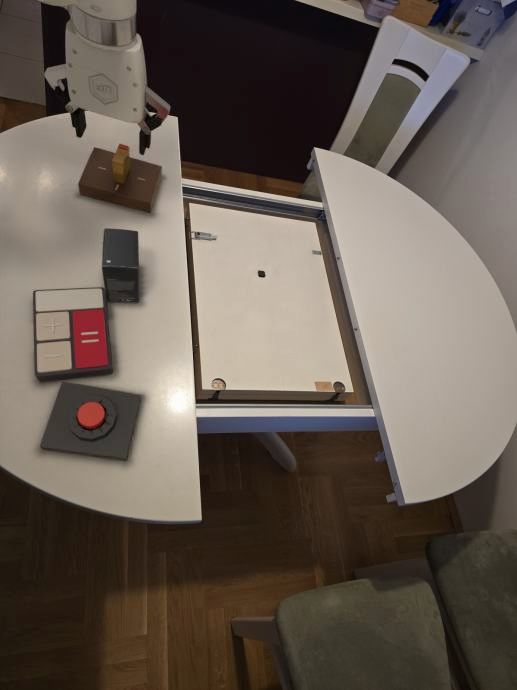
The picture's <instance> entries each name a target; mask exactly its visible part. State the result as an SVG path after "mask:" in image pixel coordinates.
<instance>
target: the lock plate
mask: <svg viewBox="0 0 517 690" xmlns="http://www.w3.org/2000/svg"><path fill="white" fill-rule="evenodd" d="M114 155H115V152H113V151H111V150H108V149H107V150H106V149H103V148H100V147H96V146H94V147H93V148H92V151H91V153H90V155H89V157H88V160H87V162H86V164H85V167H84V169H83V171H82V173H81V176H80V178H79V181H78V182H77V185H78V191H79V195H80V196H82V197H86V198H90V199H93V200H97V201H101V202H105V203H109V204H113V205H117V206H121V207H124V208H129V209H132V210H136V211H140V212H144V213H148V214H151V213H152V210H153V206H154V203H155V200H156V197H157V194H158V191H159V186H160V183H161V181H162V173H163V166H162V165H159V164H156V163H153V162H149V161H145V160H141V159H137V158H135V157H131V156H130V169H129V171H128V174H127V177H126V179H125V182H124V184H122V183H119V182H115V181H114V178H113V166H112V159H113V157H114Z"/></svg>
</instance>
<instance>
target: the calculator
mask: <svg viewBox="0 0 517 690" xmlns="http://www.w3.org/2000/svg"><path fill="white" fill-rule="evenodd" d="M32 309H33V310H32V316H33V319H32V321H33V356H34V357H33V358H34V361H33V363H34V364H33V365H34V376H35V378H36V379H37V380H38V381H39V382H40V383H46V382H55V381H63V380H72V379H81V378H90V377H98V376H99V377H100V376H107V375H109V376H110V375H112V374H113V373H114V368H113V356H112V347H111V335H110V326H109V323H110V322H109V313H108V301H107V298H106V291H105V287H103V286H100V287H99V286H96V287H74V288H53V289H52V288H50V289H34V290H33V291H32Z"/></svg>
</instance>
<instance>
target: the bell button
mask: <svg viewBox="0 0 517 690" xmlns="http://www.w3.org/2000/svg"><path fill="white" fill-rule="evenodd" d="M77 416H78V420H79V422H80V424H81V425H82V426H83V427H85V428H87V429H95V428H97V427H99V426H100V425H102V423H103V422H104V420H105V411H104V409H103V407H102V406H101V405H100V404H99V403H96V402H88V403H86V404H84V405H82V406H81V407H80V409H79V411H78V414H77Z"/></svg>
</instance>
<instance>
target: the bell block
mask: <svg viewBox="0 0 517 690" xmlns="http://www.w3.org/2000/svg"><path fill="white" fill-rule="evenodd" d="M88 402H96V403H99V404H100V405H101V406H102V407H103V409H104V411H105V420H104V422H103V423H102V425H100V426H99V427H97V428H95V429H87V428H85V427H83V426H82V425H81V424H80V422H79V420H78V416H77V414H78V411H79V409H80V407H81V406H82V405H84V404H86V403H88ZM141 403H142V395H141V394H138V393H137V394H135V393H130V392H125V391H119V390H113V389H107V388H102V387H101V388H100V387H95V386H89V385H83V384H77V383H71V382H65V381H61V384H60V387H59V390H58V393H57V395H56V398H55V401H54V403H53V406H52V410H51V413H50V415H49V418H48V421H47V424H46V427H45V430H44V433H43V435H42V439H41V442H40V444H39V448H40V449H41V450H43V451H51V452H57V453H58V452H59V453H65V454H70V455H71V454H72V455H80V456H87V457H92V458H93V457H95V458H102V459H108V460H116V461H123V462H127V461H128V457H129V453H130V448H131V443H132V440H133V435H134V432H135V429H136V428H135V427H136V423H137V420H138V415H139V411H140V407H141Z"/></svg>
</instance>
